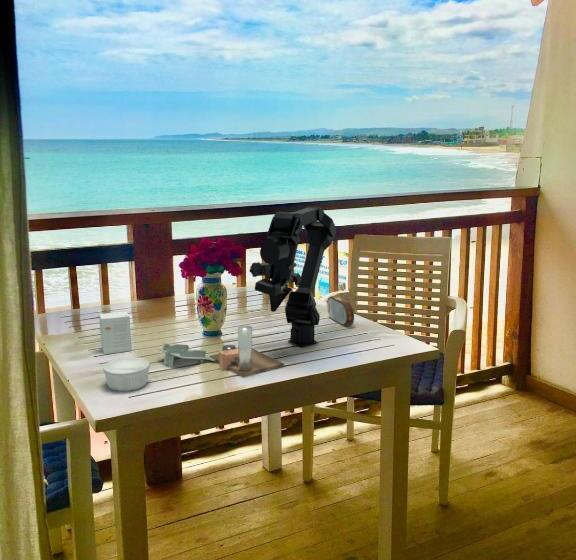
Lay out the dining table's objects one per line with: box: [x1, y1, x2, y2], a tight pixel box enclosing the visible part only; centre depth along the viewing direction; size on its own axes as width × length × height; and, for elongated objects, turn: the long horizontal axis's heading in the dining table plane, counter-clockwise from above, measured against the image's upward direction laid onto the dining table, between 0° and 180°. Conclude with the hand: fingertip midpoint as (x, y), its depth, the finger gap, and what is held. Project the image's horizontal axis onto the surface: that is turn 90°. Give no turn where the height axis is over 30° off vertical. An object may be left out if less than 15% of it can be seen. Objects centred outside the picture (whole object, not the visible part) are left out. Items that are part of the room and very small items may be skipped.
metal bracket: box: [156, 343, 216, 369], centre depth 177 cm, size 14×6×15 cm
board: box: [209, 347, 285, 378], centre depth 175 cm, size 13×17×1 cm
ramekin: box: [102, 356, 151, 392], centre depth 159 cm, size 11×11×5 cm
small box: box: [98, 311, 132, 355], centre depth 184 cm, size 8×6×10 cm
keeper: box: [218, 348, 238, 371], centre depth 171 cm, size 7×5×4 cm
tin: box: [327, 294, 355, 327], centre depth 212 cm, size 15×3×8 cm, turn 22°
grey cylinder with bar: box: [221, 324, 253, 371], centre depth 171 cm, size 16×4×11 cm, turn 26°
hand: (273, 311), depth 180 cm, fingers closed
